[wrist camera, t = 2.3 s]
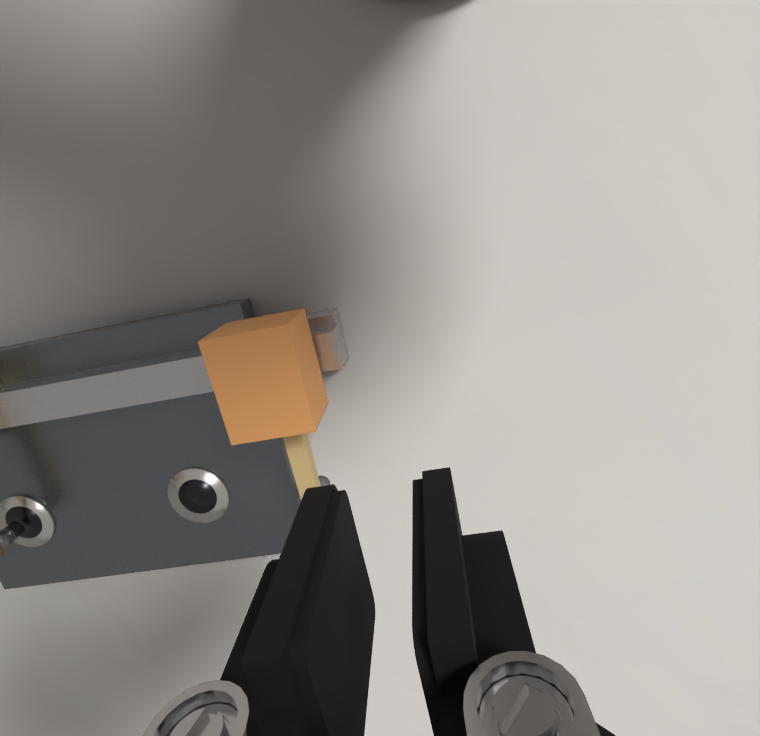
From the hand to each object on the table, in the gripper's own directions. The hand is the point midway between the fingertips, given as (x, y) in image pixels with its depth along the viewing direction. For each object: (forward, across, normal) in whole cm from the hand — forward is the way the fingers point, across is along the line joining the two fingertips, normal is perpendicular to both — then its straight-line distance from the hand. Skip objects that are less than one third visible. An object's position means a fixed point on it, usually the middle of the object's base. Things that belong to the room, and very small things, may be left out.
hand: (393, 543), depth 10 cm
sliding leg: (+17, +7, +3) cm, 18 cm away
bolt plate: (+19, +17, +5) cm, 26 cm away
